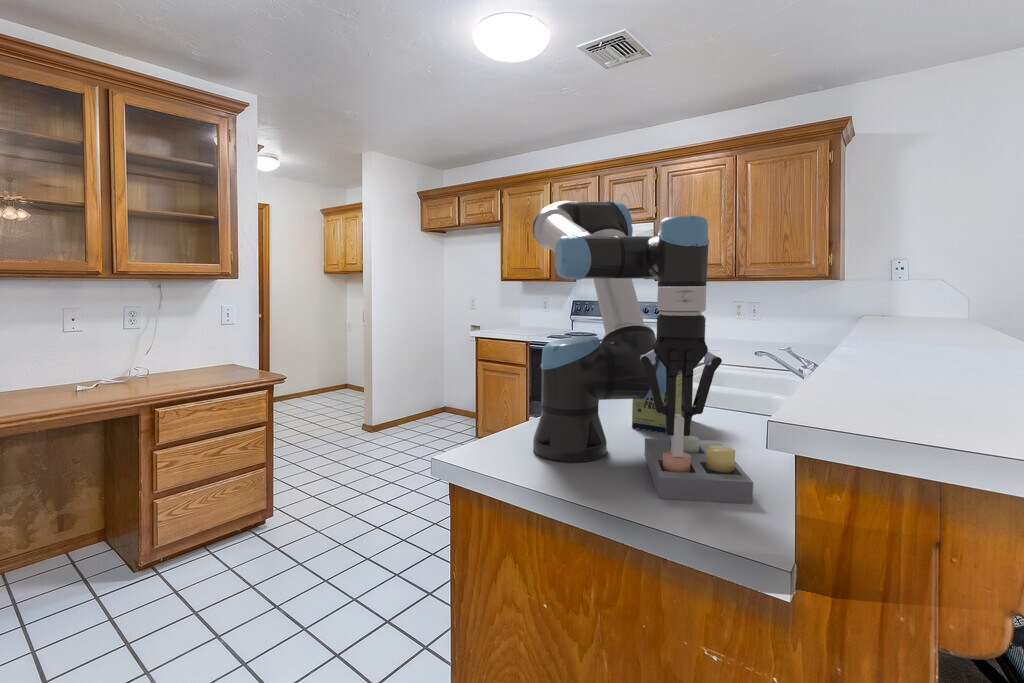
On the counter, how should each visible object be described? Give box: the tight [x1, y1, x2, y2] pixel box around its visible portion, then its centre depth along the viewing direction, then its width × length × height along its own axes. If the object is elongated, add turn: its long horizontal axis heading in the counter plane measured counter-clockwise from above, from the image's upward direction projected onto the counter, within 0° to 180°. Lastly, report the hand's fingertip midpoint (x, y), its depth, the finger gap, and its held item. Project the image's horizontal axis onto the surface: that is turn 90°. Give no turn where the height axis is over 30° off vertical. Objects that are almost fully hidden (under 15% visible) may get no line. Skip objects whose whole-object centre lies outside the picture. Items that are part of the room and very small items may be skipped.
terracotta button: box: [663, 451, 691, 473], centre depth 84 cm, size 4×4×3 cm
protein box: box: [631, 368, 695, 434], centre depth 122 cm, size 10×16×16 cm
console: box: [643, 437, 754, 505], centre depth 88 cm, size 14×21×4 cm, turn 171°
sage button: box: [683, 435, 700, 453], centre depth 93 cm, size 4×4×3 cm
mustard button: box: [706, 445, 736, 472], centre depth 82 cm, size 4×4×3 cm
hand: (676, 453), depth 83 cm, fingers closed
